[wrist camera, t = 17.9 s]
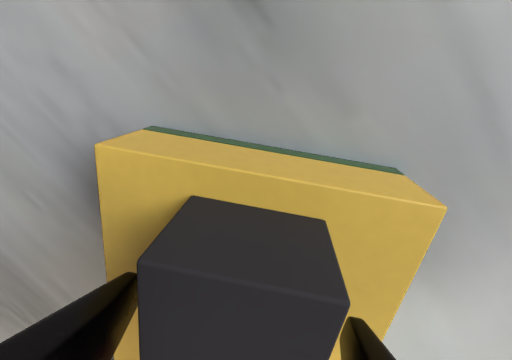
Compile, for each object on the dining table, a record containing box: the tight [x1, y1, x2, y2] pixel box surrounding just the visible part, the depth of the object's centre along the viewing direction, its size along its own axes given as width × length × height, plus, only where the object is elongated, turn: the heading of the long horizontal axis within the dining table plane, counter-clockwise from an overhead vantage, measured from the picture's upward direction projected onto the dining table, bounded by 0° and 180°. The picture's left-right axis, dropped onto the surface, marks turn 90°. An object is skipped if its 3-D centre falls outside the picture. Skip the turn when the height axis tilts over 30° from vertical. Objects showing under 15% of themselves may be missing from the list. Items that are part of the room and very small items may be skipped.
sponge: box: [94, 126, 447, 360], centre depth 11 cm, size 16×10×3 cm, turn 171°
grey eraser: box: [136, 195, 350, 360], centre depth 7 cm, size 6×4×3 cm
